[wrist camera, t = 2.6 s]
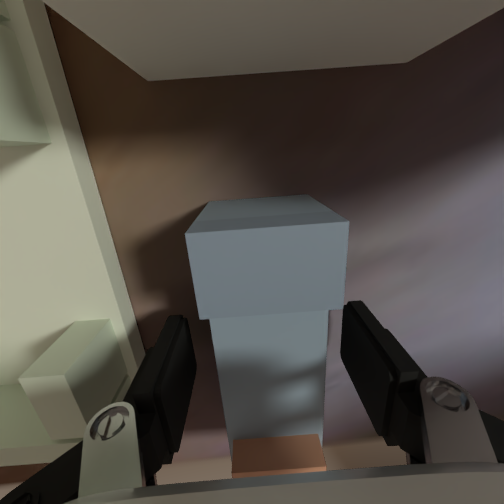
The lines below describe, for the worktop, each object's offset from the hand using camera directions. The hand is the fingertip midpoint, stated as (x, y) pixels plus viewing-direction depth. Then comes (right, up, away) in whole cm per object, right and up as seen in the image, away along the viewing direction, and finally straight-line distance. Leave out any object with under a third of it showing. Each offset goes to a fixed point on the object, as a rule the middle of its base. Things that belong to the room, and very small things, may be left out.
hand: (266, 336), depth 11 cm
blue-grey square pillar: (0, 0, +1) cm, 1 cm away
